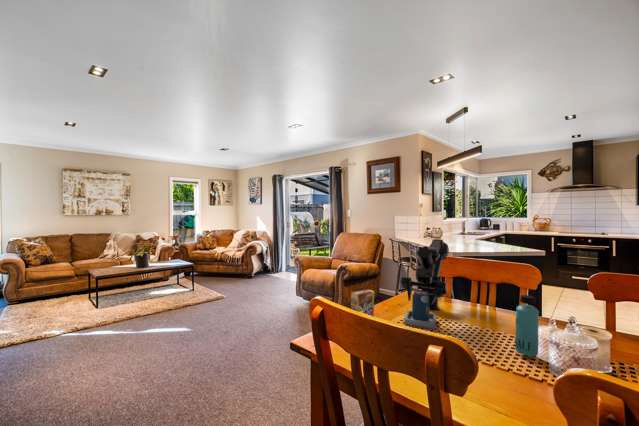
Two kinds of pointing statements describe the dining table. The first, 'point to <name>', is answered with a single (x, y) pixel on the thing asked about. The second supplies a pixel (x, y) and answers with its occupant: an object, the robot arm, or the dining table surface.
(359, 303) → the candy box
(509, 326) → the dining table surface
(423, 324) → the tray
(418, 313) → the soda can
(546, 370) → the dining table surface
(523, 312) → the beverage bottle
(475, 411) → the dining table surface
